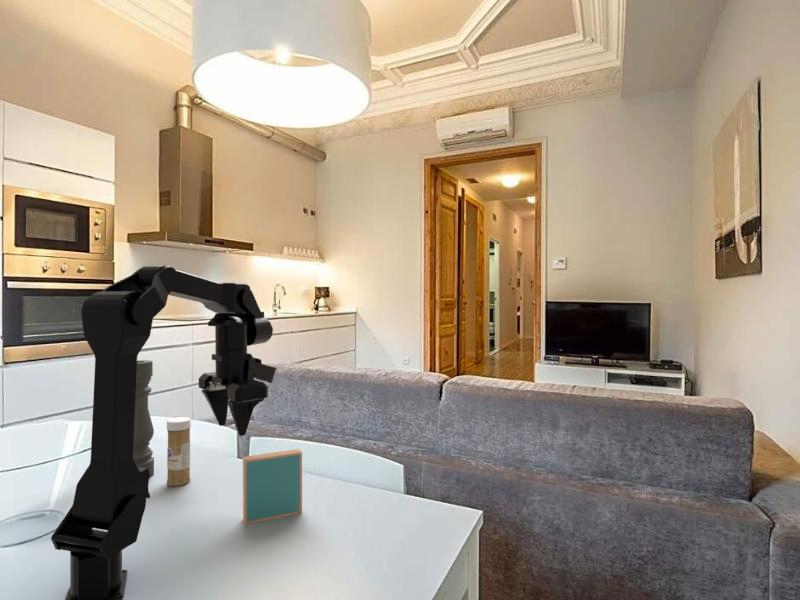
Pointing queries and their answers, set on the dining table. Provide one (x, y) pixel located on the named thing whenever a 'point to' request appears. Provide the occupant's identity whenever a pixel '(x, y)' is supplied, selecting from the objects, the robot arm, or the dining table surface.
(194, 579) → the dining table surface
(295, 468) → the tile
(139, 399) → the candle holder
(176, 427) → the sprinkles bottle
